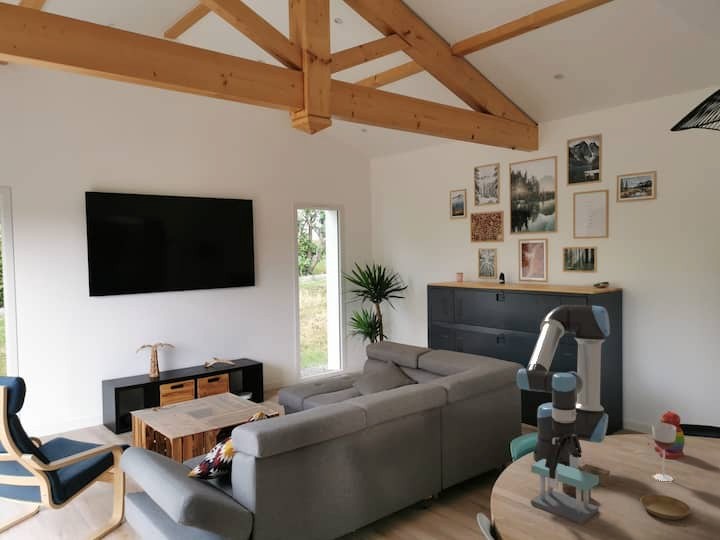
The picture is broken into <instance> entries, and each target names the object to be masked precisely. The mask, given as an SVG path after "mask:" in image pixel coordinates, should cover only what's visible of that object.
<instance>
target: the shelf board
mask: <svg viewBox="0 0 720 540" xmlns="http://www.w3.org/2000/svg"><path fill="white" fill-rule="evenodd" d="M545 464H546V459H542V460H540V461H538V462H537V461H535V463H533V464H531V467H530V469H531V470H530V471H531V473H533V474H536V475H538V476H540V475H542V476H545V478H547V479H548V478H549V468H547V467H545ZM557 469H558V483H559V482H560V483H562V484H563V483H565V484H568V485H571V486H574V487H577V488H580V489H583V490H586V491H588V490H589V489H592V488H594V487H595V486H597V485H599V484H598V483H599V476H597V475H594V474H591V473H588V472H584V471H583V470H580V469H579V468H578V469H575V468H572V467H570V466H569V465H566V466H565V465H562V464H559V463H558V465H557Z"/></svg>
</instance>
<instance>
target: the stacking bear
mask: <svg viewBox="0 0 720 540" xmlns="http://www.w3.org/2000/svg"><path fill="white" fill-rule="evenodd" d="M660 423H667V424H671V425H674V426H675V427H676V439H675V442H674V445H673V446H672V447H670V448H667V449H665V459H671V460H672V458H674V459H681V458H683V457H684V456H685V455H684V447H685V442H686V441H685V435H684V432H683V429H682V427H680V425H681V417H680V416H679V415H678V414H677V413H675V412H672V411H669V410H668V411H667V412H665V413H664V414H663V415H662V416H661V417H660ZM654 451H655V452H657V453H659V456H660V457H661V458H663V449H662V448H661V447H659V446H658V445H656V446H654Z"/></svg>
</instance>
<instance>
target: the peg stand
mask: <svg viewBox="0 0 720 540" xmlns="http://www.w3.org/2000/svg"><path fill="white" fill-rule="evenodd" d="M539 479H540V481H539V482H540V483H539V484H540V486H539V487H540V488H539V490H540V491H539V492H540V493H539V494H538V495H537V496H535V497H534V498H532V499H531V500H530V505H531V504H533V505H532V506H534V505H535V507H536V506H538V507H537V508H539V507H540V509H542V510H545V511H547V512H550V513H551V514H554V515H557V516H560V517H562V518H565V519H567V520H570V521H573V522H575V523H578V524H580V525H581V524H583V523H584V522H586V521H587V520H589V518H590V519H591V517H592V516H594V515H595V514H597V513H598V512H599V506H596V505H594V504H591V503H589V502H590V501H589V499H590V498H589V490H588V491H586V490H584V492H583V498H581V489H580V488H577V487H576V496H575V498H574V497H571V496H569V495H566V494H564V493H560V492H557V491H555V490H554V488H553V487H550V486H549V478H548V477H547V490H546V477H545V476H542V475H539ZM582 499H583V501H582Z"/></svg>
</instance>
